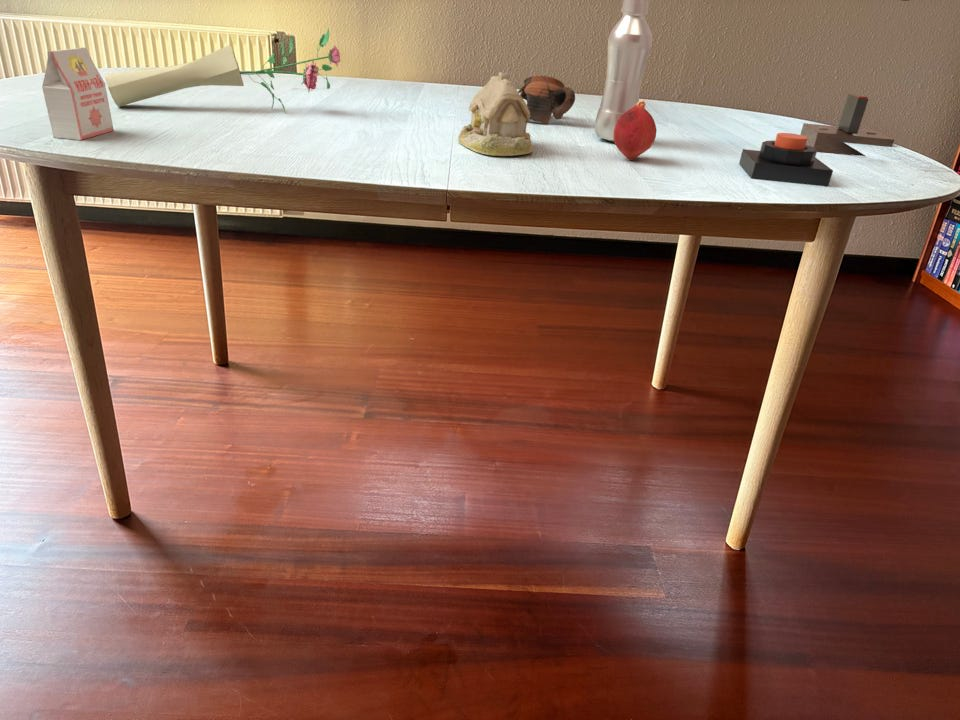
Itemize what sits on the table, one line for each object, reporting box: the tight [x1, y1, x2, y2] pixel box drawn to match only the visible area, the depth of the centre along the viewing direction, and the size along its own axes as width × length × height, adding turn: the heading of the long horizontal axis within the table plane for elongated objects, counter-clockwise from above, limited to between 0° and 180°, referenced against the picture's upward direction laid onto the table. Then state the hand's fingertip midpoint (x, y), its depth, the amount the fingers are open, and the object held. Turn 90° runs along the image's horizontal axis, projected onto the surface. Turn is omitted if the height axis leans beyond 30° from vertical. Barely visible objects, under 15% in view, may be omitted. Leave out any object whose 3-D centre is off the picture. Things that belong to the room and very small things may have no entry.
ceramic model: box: [457, 71, 534, 157], centre depth 97 cm, size 14×11×10 cm
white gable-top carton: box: [41, 47, 114, 141], centre depth 86 cm, size 4×7×10 cm, turn 172°
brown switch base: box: [799, 122, 895, 157], centre depth 116 cm, size 12×9×3 cm
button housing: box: [738, 140, 834, 188], centre depth 94 cm, size 10×9×4 cm
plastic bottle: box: [594, 0, 654, 143], centre depth 104 cm, size 6×7×20 cm
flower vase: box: [104, 28, 342, 113], centre depth 108 cm, size 12×12×35 cm
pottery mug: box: [517, 75, 576, 125], centre depth 120 cm, size 12×10×8 cm
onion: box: [613, 100, 657, 161], centre depth 95 cm, size 6×6×8 cm
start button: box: [774, 132, 808, 150], centre depth 93 cm, size 4×4×2 cm
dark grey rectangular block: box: [837, 93, 869, 134], centre depth 114 cm, size 5×2×6 cm, turn 172°
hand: (900, 0), depth 94 cm, fingers closed
